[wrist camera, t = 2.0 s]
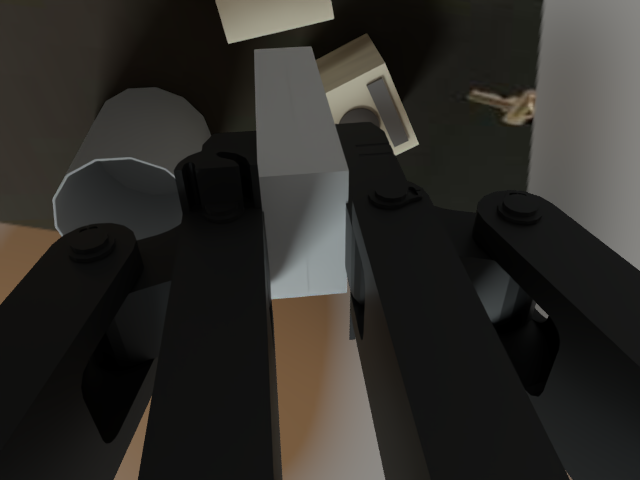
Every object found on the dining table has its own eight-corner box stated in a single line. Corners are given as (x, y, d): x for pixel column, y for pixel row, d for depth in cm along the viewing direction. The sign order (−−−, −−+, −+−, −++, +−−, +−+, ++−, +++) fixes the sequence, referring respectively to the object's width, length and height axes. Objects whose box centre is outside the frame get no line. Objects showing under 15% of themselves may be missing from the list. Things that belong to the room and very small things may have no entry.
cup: (204, 84, 37) (193, 153, 29) (219, 187, 42) (213, 269, 34) (78, 91, 36) (30, 163, 28) (108, 194, 41) (75, 280, 33)
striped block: (288, 74, 37) (294, 111, 32) (366, 32, 36) (385, 63, 31) (325, 143, 40) (336, 185, 36) (398, 106, 39) (419, 145, 34)
